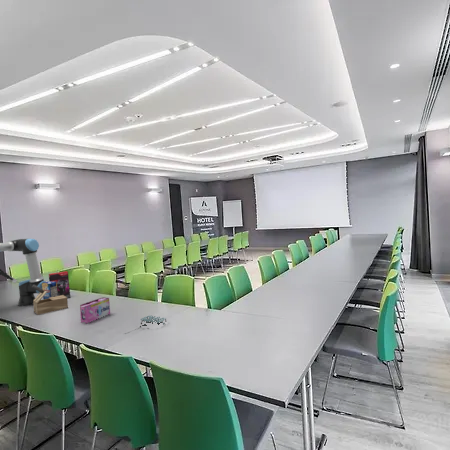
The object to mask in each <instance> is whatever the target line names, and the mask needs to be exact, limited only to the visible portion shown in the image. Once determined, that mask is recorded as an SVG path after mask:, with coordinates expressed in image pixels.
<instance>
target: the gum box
mask: <svg viewBox="0 0 450 450" xmlns="http://www.w3.org/2000/svg"><path fill="white" fill-rule="evenodd" d="M110 302H111V301H110V297H99V298H97V299H94V300H90V301H87V302H85V303H82V304H80V305H79V308H80V309H79V312H80V313H79V314H80V323H83V322H85V323H84V324H89V323H91V321H92V322H94V321H97V320H99V319H102V318H104V317H106V316H105V315H107V316H109V315H111V306H110V305H111V304H110ZM108 314H109V315H108ZM103 316H104V317H103ZM101 317H102V318H101ZM98 318H99V319H98ZM96 319H97V320H96ZM93 320H94V321H93ZM88 322H89V323H88Z"/></svg>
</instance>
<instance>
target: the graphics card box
mask: <svg viewBox="0 0 450 450" xmlns="http://www.w3.org/2000/svg"><path fill="white" fill-rule="evenodd" d="M48 280H49V281H51V282H57V294H58V296H60V295H64V296H66V297H67V299H71V292H70V289H71V288H70V279H69V272H68V271H67V270H66V271H60V272H59V271H58V272H53V273H48Z"/></svg>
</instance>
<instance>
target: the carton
mask: <svg viewBox="0 0 450 450" xmlns="http://www.w3.org/2000/svg"><path fill="white" fill-rule="evenodd" d="M68 304H69V303H68V298H67V297H66V296H64V295H60V296H55V297H50V298H48V299H43V298H42V299H41V300H40V301H39V302H38V303H36V302H35V301H34V302H33V304H32V306H33V312H34V313H35V314H36V315H37V316H40V315H44V314H48V313H52V312H57V311H61V310H66V309H69V305H68Z"/></svg>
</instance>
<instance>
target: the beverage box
mask: <svg viewBox="0 0 450 450" xmlns="http://www.w3.org/2000/svg"><path fill="white" fill-rule="evenodd" d="M42 289H43V290H45V291H47V293H46V294H45V295H44V296H43V297H42V300H43V299H48V298H50V297H55V296H58V294H57V282H51V281H46V282H44V283H42Z"/></svg>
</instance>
